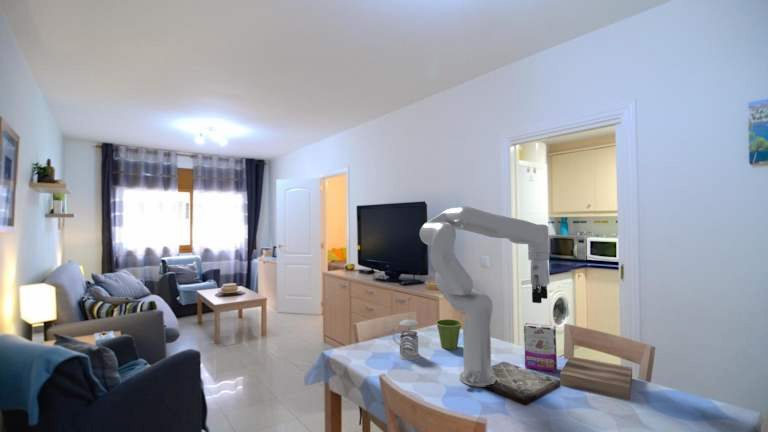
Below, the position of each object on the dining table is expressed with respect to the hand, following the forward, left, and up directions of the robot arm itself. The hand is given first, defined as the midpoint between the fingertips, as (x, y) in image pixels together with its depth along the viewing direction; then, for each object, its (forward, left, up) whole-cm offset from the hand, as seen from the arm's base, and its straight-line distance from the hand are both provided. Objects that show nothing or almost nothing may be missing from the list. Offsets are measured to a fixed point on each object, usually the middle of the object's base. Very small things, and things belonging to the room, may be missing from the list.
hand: (540, 300), depth 144 cm
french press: (-17, +50, -26) cm, 59 cm away
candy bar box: (0, 0, -26) cm, 26 cm away
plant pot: (+3, +40, -26) cm, 48 cm away
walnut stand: (-2, -19, -26) cm, 32 cm away
